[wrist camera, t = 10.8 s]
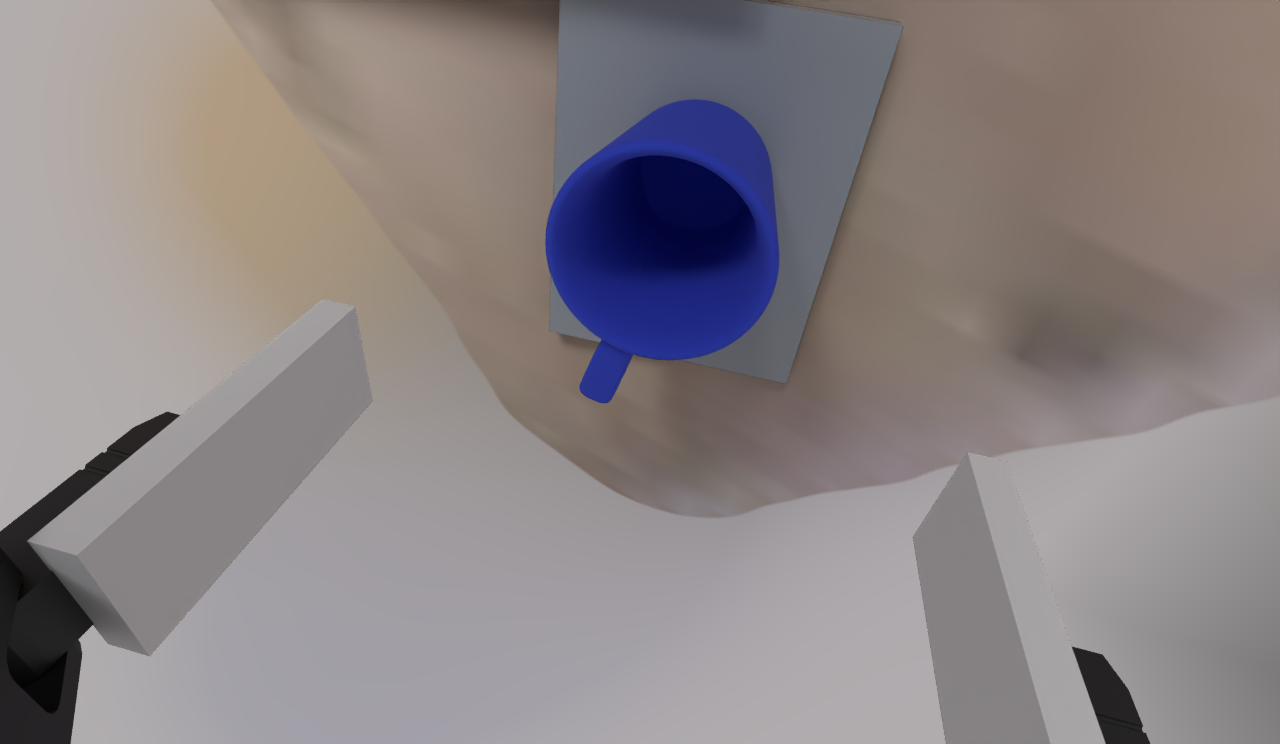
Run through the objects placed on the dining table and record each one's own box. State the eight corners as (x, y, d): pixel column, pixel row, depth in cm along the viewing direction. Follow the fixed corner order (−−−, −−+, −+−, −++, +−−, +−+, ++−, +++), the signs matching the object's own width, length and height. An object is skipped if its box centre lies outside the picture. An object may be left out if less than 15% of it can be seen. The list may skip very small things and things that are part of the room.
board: (569, -31, 27) (560, -29, 26) (899, 22, 25) (903, 26, 25) (555, 320, 38) (549, 331, 37) (786, 371, 36) (786, 383, 35)
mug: (568, 268, 34) (495, 375, 26) (652, 42, 27) (586, 95, 19) (703, 333, 35) (672, 456, 27) (823, 128, 27) (828, 214, 19)
